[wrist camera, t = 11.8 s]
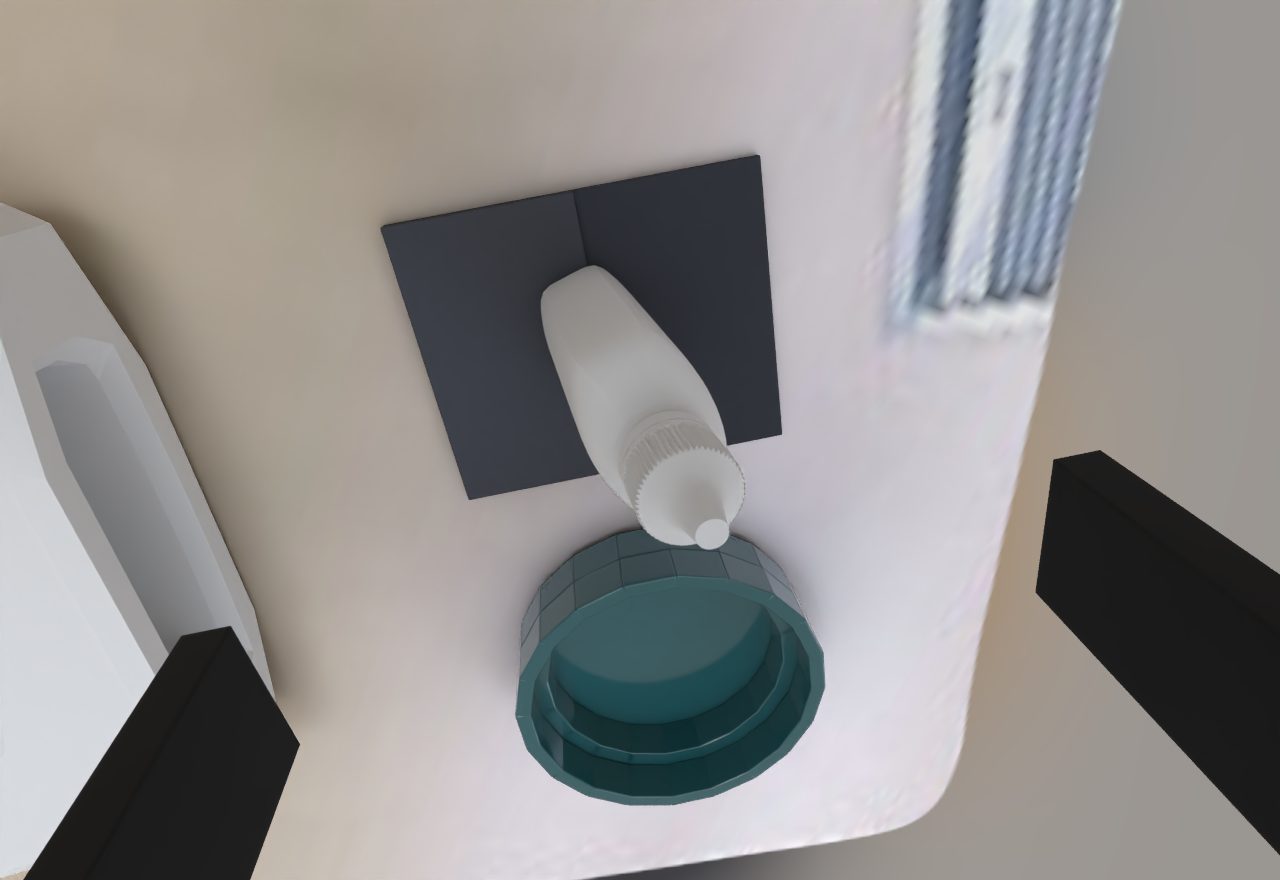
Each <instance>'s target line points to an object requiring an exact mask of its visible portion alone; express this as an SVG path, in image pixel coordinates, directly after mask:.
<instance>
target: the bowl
mask: <svg viewBox="0 0 1280 880" xmlns="http://www.w3.org/2000/svg"><path fill="white" fill-rule="evenodd" d="M824 689H825V672H824V654H823V650H822V648H821V646H820V644H819V642H818V640H817V638H816V635H815V633H814V631H813V629H812V627H811V625H810V623H809V621H808V619H807V617H806V615H805V613H804V611H803V609H802V606H801V604H800V602H799V600H798V598H797V596H796V594H795V593H794V591H793V589H792V587H791V585H790V583H789V581H788V579H787V577H786V576H785V574H784V572H783V570H782V568H781V567H780V566H779V565H777V564H776V563H775V562H774V561H772V560H771V559H770V558H769V557H768V556H766V555H765V554H764V553H763V552H762V551H760V550H759V549H758V548H757V547H756V546H754V545H753V544H752V543H749V542H747V541H744V540H741V539H739V538H736V537H733V536H731V535H729V537H728V539H727V540H726V542H725V543H724V544H723V545H721V546H720V547H718V548H715V549H703V548H701V547H700V546H699V545H698V544H693V545H682V546H680V545H674V544H672V545H670V544H669V543H664V542H662V541H659V540H658V539H655V538H654V537H653V536H651V535H650V534H649V533H647V532H646V530H645V529H641V530H636V531H631V532H626V533H621V534H617V535H613V536H611V537H609V538H607V539H605V540H603V541H601V542H599V543H597V544H595V545H593V546H591V547H589V548H587V549H585V550H583V551H581V552H579V553H578V554H576V555H574V556H573V557H571V558H570V559H569V560H568V561H567V562H566V563H565V564H564V565H563V566H562V567H561V568H560V569H559V570H557V571H556V572H555V573H554V574H553V575H552V576H551V577H550V578H549V579H548V580H547V581H546V582H545V583H544V584H542V586H541V587H540V588H539V590H538V592H537V594H536V596H535V598H534V600H533V602H532V603H531V605H530V607H529V609H528V611H527V613H526V615H525V617H524V619H523V622H522V625H521V635H520V645H519V655H518V672H517V691H516V710H515V715H516V720H517V723H518V726H519V728H520V731H521V734H522V737H523V740H524V743H525V746H526V748H527V750H528V752H529V753H530V754H531V755H532V756H533V757H534V758H535V759H536V760H537V761H538V763H539V764H540V765H541V766H542V767H543V768H544V769H545V770H546V771H547V772H548V773H549V775H550V776H551V777H553V778H554V779H556V780H558V781H560V782H562V783H563V784H565V785H567V786H569V787H571V788H573V789H575V790H576V791H578V792H580V793H582V794H584V795H587V796H589V797H593V798H597V799H602V800H606V801H610V802H615V803H619V804H624V805H671V804H672V805H676V804H681V803H686V802H690V801H695V800H700V799H704V798H709V797H714V796H715V795H718V794H721V793H723V792H725V791H727V790H730V789H732V788H734V787H736V786H739V785H741V784H743V783H745V782H748V781H750V780H752V779H754V777H755V778H756V777H758V776H759V775H760V774H762V773H763V772H764V771H766V770H767V769H768V768H770V767H771V766H772V765H774V764H775V763H776V762H778V761H779V760H780V759H782V758H783V757H784V756H786V755H787V754H788V752H790V751H791V749H792V748H793V747H794V746H795V744H796V743H797V742H798V741H799V739H800V738H801V737H802V735H803V734H804V733H805V732H806V730H807V729H808V728H809V727H810V725H811V724H812V722H813V721H814V718H815V715H816V712H817V709H818V706H819V704H820V701H821V698H822V695H823V692H824Z"/></svg>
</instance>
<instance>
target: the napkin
mask: <svg viewBox="0 0 1280 880" xmlns="http://www.w3.org/2000/svg"><path fill="white" fill-rule="evenodd" d="M381 232H382V235H383V238H384V241H385V244H386V247H387V250H388V253H389V257H390V260H391V263H392V266H393V269H394V272H395V275H396V278H397V281H398V284H399V287H400V290H401V293H402V296H403V299H404V303H405V306H406V309H407V312H408V315H409V318H410V321H411V324H412V327H413V330H414V333H415V336H416V339H417V342H418V346H419V349H420V352H421V355H422V358H423V361H424V364H425V367H426V370H427V373H428V376H429V379H430V382H431V385H432V388H433V392H434V395H435V398H436V401H437V404H438V407H439V410H440V413H441V416H442V419H443V422H444V425H445V428H446V431H447V434H448V438H449V441H450V444H451V447H452V450H453V453H454V456H455V459H456V462H457V465H458V468H459V471H460V474H461V477H462V480H463V484H464V487H465V490H466V493H467V496H468V499H469V500H472V499H477V498H482V497H487V496H492V495H497V494H502V493H507V492H512V491H517V490H522V489H527V488H532V487H537V486H542V485H547V484H552V483H557V482H562V481H567V480H572V479H577V478H582V477H587V476H592V475H597V474H599V472H598V471H597V469H596V467H595V466H594V464H593V462H592V460H591V458H590V457H589V455H588V453H587V450H586V448H585V446H584V443H583V441H582V439H581V436H580V434H579V431H578V428H577V425H576V423H575V420H574V417H573V415H572V412H571V409H570V406H569V404H568V401H567V398H566V395H565V392H564V390H563V387H562V384H561V381H560V378H559V376H558V373H557V370H556V367H555V364H554V362H553V359H552V356H551V353H550V350H549V347H548V344H547V341H546V337H545V333H544V328H543V322H542V315H541V298H542V295H543V292H544V291H545V290H546V289H547V288H548V287H549V286H550V285H552V284H554V283H555V282H557V281H559V280H561V279H563V278H564V277H566V276H568V275H570V274H572V273H574V272H576V271H578V270H580V269H582V268H584V267H587V266H593V265H595V266H598V267H601V268H603V269H605V270H606V271H607V272H609V273H610V274H611V275H612V276H613V277H614V278H616V279H617V280H618V281H619V282H620V283H621V284H622V285H623V286H624V287H625V288H626V289H627V291H628V292H629V293H630V294H631V295H632V296H633V297H634V299H635V300H636V301H637V302H638V303H639V304H640V305H641V307H642V308H643V309H644V310H645V311H646V312H647V313H648V315H649V316H650V317H651V318H652V319H653V320H654V321H655V323H656V324H657V325H658V326H659V327H660V328H661V329H662V331H663V332H664V333H665V334H666V335H667V336H668V337H669V339H670V340H671V341H672V342H673V343H674V344H675V346H676V347H677V348H678V349H679V350H680V352H681V353H682V354H683V355H684V356H685V357H686V359H687V360H688V361H689V363H690V364H691V365H692V366H693V368H694V369H695V371H696V372H697V373H698V375H699V376H700V378H701V379H702V381H703V382H704V384H705V386H706V387H707V389H708V391H709V393H710V395H711V397H712V399H713V401H714V403H715V405H716V407H717V410H718V412H719V415H720V418H721V421H722V424H723V428H724V433H725V437H726V443H727V445H732V444H737V443H742V442H747V441H752V440H757V439H762V438H767V437H772V436H777V435H782V427H781V415H780V402H779V389H778V377H777V364H776V351H775V339H774V326H773V313H772V301H771V288H770V275H769V263H768V250H767V237H766V224H765V212H764V199H763V186H762V174H761V161H760V156H759V155H754V156H748V157H743V158H738V159H733V160H727V161H722V162H717V163H711V164H706V165H701V166H695V167H690V168H685V169H680V170H674V171H669V172H664V173H658V174H653V175H648V176H643V177H637V178H632V179H627V180H621V181H616V182H611V183H606V184H600V185H595V186H590V187H584V188H579V189H574V190H568V191H563V192H558V193H553V194H547V195H542V196H537V197H531V198H526V199H521V200H516V201H510V202H505V203H500V204H494V205H489V206H484V207H479V208H473V209H468V210H463V211H457V212H452V213H447V214H441V215H436V216H431V217H426V218H420V219H415V220H410V221H404V222H399V223H394V224H389V225H384V226H383V227H381Z"/></svg>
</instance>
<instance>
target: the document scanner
mask: <svg viewBox="0 0 1280 880" xmlns="http://www.w3.org/2000/svg"><path fill="white" fill-rule="evenodd" d="M227 626H231V627H232V628H233V630H234V632H235V634H236V635H237V637H238V639H239V641H240V642H241V644H242V646H243V647H244V649H245V651H246V653H247V654H248V656H249V658H250V659H251V661H252V663H253V665H254V666H255V668H256V670H257V671H258V673H259V675H260V677H261V678H262V680H263V682H264V683H265V685H266V687H267V689H268V690H269V692H270V694H271V695H272V697H273V699H274V701H275V702H276V699H275V695H274V690H273V686H272V682H271V678H270V674H269V670H268V665H267V661H266V657H265V653H264V649H263V644H262V640H261V636H260V632H259V628H258V623H257V619H256V615H255V611H254V608H253V606H252V604H251V601H250V599H249V597H248V594H247V592H246V590H245V588H244V585H243V583H242V581H241V579H240V576H239V574H238V572H237V570H236V567H235V565H234V563H233V561H232V558H231V556H230V554H229V551H228V549H227V547H226V545H225V542H224V540H223V538H222V536H221V533H220V531H219V529H218V527H217V524H216V522H215V520H214V518H213V515H212V513H211V511H210V509H209V506H208V504H207V502H206V499H205V497H204V495H203V493H202V490H201V488H200V486H199V484H198V481H197V479H196V477H195V475H194V472H193V470H192V468H191V466H190V463H189V461H188V459H187V456H186V454H185V452H184V450H183V448H182V445H181V443H180V441H179V439H178V436H177V434H176V432H175V430H174V427H173V425H172V423H171V421H170V418H169V416H168V414H167V412H166V409H165V407H164V405H163V403H162V401H161V398H160V396H159V394H158V392H157V389H156V387H155V385H154V383H153V380H152V378H151V376H150V374H149V371H148V369H147V367H146V365H145V363H144V362H143V360H142V359H141V357H140V356H139V354H138V353H137V351H136V350H135V348H134V347H133V345H132V344H131V342H130V341H129V340H128V338H127V337H126V335H125V334H124V332H123V331H122V329H121V328H120V326H119V325H118V323H117V322H116V320H115V319H114V317H113V316H112V314H111V313H110V311H109V310H108V308H107V307H106V305H105V304H104V302H103V301H102V300H101V298H100V297H99V295H98V294H97V292H96V291H95V289H94V288H93V286H92V285H91V283H90V282H89V280H88V279H87V277H86V276H85V274H84V273H83V271H82V270H81V268H80V267H79V265H78V264H77V263H76V261H75V260H74V258H73V257H72V255H71V254H70V252H69V251H68V249H67V248H66V246H65V245H64V243H63V242H62V240H61V239H60V237H59V236H58V234H57V233H56V231H55V230H54V228H53V227H52V225H51V224H50V223H49V222H46V221H44V220H41V219H39V218H37V217H34V216H32V215H30V214H27V213H25V212H23V211H20V210H18V209H16V208H13V207H11V206H8V205H6V204H4V203H0V878H3V877H6V876H9V875H12V874H16V873H19V872H22V871H25V870H29V869H31V867H32V866H33V864H34V863H35V861H36V859H37V858H38V856H39V855H40V853H41V852H42V850H43V849H44V847H45V846H46V844H47V842H48V841H49V839H50V838H51V836H52V835H53V833H54V832H55V830H56V829H57V827H58V825H59V824H60V822H61V821H62V819H63V818H64V816H65V815H66V813H67V812H68V810H69V808H70V807H71V805H72V804H73V802H74V801H75V799H76V798H77V796H78V795H79V793H80V791H81V790H82V788H83V787H84V785H85V784H86V782H87V781H88V779H89V778H90V776H91V774H92V773H93V771H94V770H95V768H96V767H97V765H98V764H99V762H100V761H101V759H102V757H103V756H104V754H105V753H106V751H107V750H108V748H109V747H110V745H111V744H112V742H113V740H114V739H115V737H116V736H117V734H118V733H119V731H120V730H121V728H122V727H123V725H124V723H125V722H126V720H127V719H128V717H129V716H130V714H131V713H132V711H133V710H134V708H135V706H136V705H137V703H138V702H139V700H140V699H141V697H142V696H143V694H144V693H145V691H146V689H147V688H148V686H149V685H150V683H151V682H152V680H153V679H154V677H155V676H156V674H157V672H158V671H159V669H160V668H161V666H162V665H163V663H164V662H165V660H166V659H167V657H168V655H169V654H170V652H171V651H172V649H173V648H174V646H175V645H176V643H177V642H178V640H179V638H180V637H181V636H182V635H187V634H192V633H197V632H202V631H207V630H212V629H217V628H222V627H227ZM276 704H277V703H276Z"/></svg>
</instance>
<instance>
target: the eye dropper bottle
mask: <svg viewBox="0 0 1280 880" xmlns="http://www.w3.org/2000/svg"><path fill="white" fill-rule="evenodd" d="M541 315H542V322H543V328H544V333H545V337H546V341H547V344H548V347H549V350H550V353H551V356H552V359H553V362H554V364H555V367H556V370H557V373H558V376H559V378H560V381H561V384H562V387H563V390H564V392H565V395H566V398H567V401H568V404H569V406H570V409H571V412H572V415H573V417H574V420H575V423H576V425H577V428H578V431H579V434H580V436H581V439H582V441H583V443H584V446H585V448H586V450H587V453H588V455H589V457H590V458H591V460H592V462H593V464H594V466H595V467H596V469H597V471H598V472H599V474H600V475H601V477H602V478H603V479H604V481H605V482H606V484H607V485H608V486H609V487H610V488H611V490H612V491H613V492H614V493H615V494H616V495H617V496H618V497H619V498H620V499H621V500H622V501H623V502H624V503H625V504H627V505H628V506H629V507H630V508H631V509H633V510H634V511H635V514H636V516H637V518H638V521H639V522H640V524H641V525H642V526H643V529H645V530H646V532H647V533H649V534H650V535H651V536H653V537H654V538H655V539H658V540H659V541H662V542H664V543H669V544H670V545H672V544H674V545H680V546H682V545H693V544H698V545H699V546H700V547H701V548H703V549H715V548H718V547H720V546H721V545H723V544H724V543H725V542H726V540H727V539H728V537H729V533H730V530H729V524H730V523H731V522H732V521H733V520H734V519H735V516H736V515H737V514H738V511H739V510H740V507H741V505H742V502H743V500H744V499H743V497H744V495H745V493H744V491H745V488H744V486H745V483H744V477H743V473H742V472H741V468H740V467H739V465H738V463H737V462H736V461H735V459H734V458H733V457H732V455H731V454H730V453H729V451H728V450H727V443H726V437H725V433H724V428H723V424H722V421H721V418H720V415H719V412H718V410H717V407H716V405H715V403H714V401H713V399H712V397H711V395H710V393H709V391H708V389H707V387H706V386H705V384H704V382H703V381H702V379H701V378H700V376H699V375H698V373H697V372H696V371H695V369H694V368H693V366H692V365H691V364H690V363H689V361H688V360H687V359H686V357H685V356H684V355H683V354H682V353H681V352H680V350H679V349H678V348H677V347H676V346H675V344H674V343H673V342H672V341H671V340H670V339H669V337H668V336H667V335H666V334H665V333H664V332H663V331H662V329H661V328H660V327H659V326H658V325H657V324H656V323H655V321H654V320H653V319H652V318H651V317H650V316H649V315H648V313H647V312H646V311H645V310H644V309H643V308H642V307H641V305H640V304H639V303H638V302H637V301H636V300H635V299H634V297H633V296H632V295H631V294H630V293H629V292H628V291H627V289H626V288H625V287H624V286H623V285H622V284H621V283H620V282H619V281H618V280H617V279H616V278H614V277H613V276H612V275H611V274H610V273H609V272H607V271H606V270H605V269H603V268H601V267H598V266H595V265H593V266H587V267H584V268H582V269H580V270H578V271H576V272H574V273H572V274H570V275H568V276H566V277H564V278H563V279H561V280H559V281H557V282H555V283H554V284H552V285H550V286H549V287H548V288H547V289H546V290H545V291H544V292H543V295H542V298H541Z"/></svg>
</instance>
